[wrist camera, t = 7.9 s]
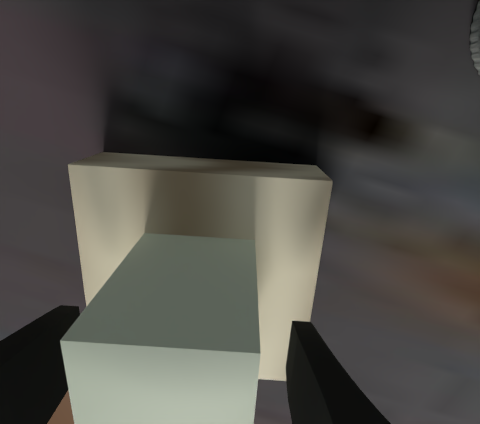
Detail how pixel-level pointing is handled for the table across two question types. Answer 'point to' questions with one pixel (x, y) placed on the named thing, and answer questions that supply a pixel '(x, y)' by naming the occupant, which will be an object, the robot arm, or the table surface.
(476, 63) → the camera lens
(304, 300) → the birch block
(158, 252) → the sage block
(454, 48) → the table surface
